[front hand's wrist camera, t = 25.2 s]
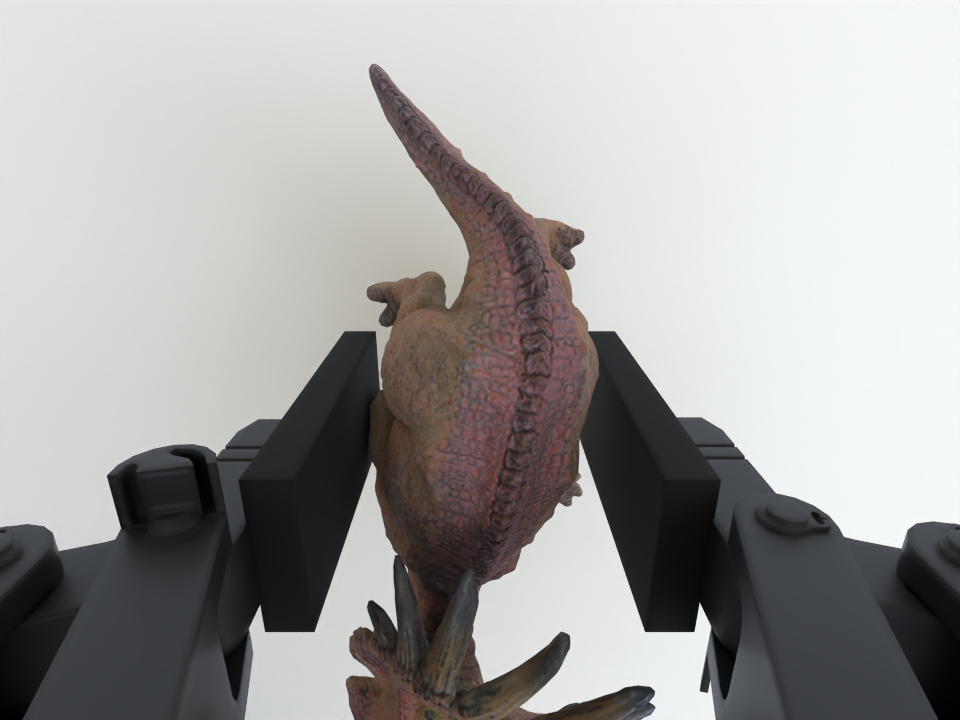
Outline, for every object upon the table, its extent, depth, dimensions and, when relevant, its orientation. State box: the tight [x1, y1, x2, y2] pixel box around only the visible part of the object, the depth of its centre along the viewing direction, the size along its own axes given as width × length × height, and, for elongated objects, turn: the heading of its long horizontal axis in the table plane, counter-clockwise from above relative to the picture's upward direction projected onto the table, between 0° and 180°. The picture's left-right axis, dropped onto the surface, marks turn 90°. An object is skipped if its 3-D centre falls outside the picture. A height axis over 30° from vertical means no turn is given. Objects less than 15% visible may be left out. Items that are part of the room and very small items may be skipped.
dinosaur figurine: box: [346, 64, 655, 720], centre depth 11 cm, size 14×6×9 cm, turn 179°
